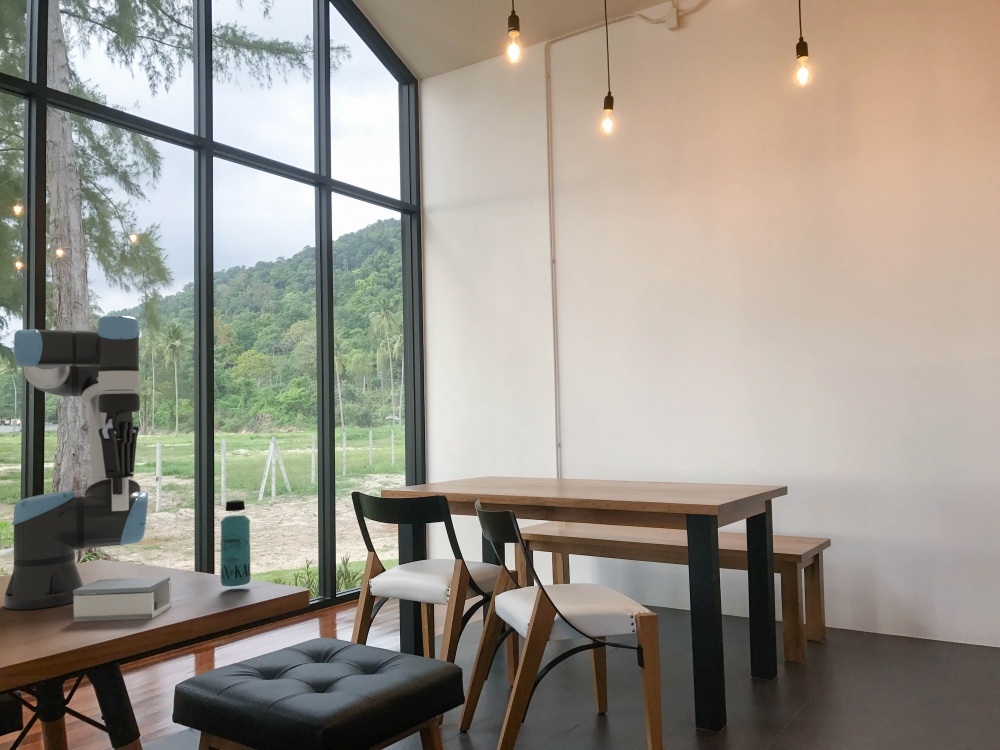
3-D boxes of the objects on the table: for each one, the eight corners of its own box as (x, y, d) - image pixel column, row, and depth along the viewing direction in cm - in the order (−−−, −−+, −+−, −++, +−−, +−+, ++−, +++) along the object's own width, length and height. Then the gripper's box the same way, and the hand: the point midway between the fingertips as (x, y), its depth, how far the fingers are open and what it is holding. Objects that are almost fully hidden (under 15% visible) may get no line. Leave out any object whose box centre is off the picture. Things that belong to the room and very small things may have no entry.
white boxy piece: (98, 609, 164) (97, 584, 164) (171, 606, 165) (171, 581, 165) (73, 621, 154) (73, 596, 154) (152, 618, 155) (151, 592, 155)
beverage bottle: (220, 588, 180) (218, 500, 181) (250, 585, 182) (249, 498, 183) (221, 594, 174) (219, 503, 175) (252, 591, 176) (251, 500, 177)
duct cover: (98, 583, 164) (98, 579, 165) (170, 580, 165) (170, 576, 165) (73, 594, 154) (73, 590, 154) (149, 591, 154) (149, 587, 154)
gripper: (115, 393, 166) (116, 506, 166) (84, 392, 153) (85, 515, 153) (151, 392, 167) (152, 505, 166) (123, 391, 154) (124, 514, 153)
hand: (120, 510), depth 159 cm, fingers closed
